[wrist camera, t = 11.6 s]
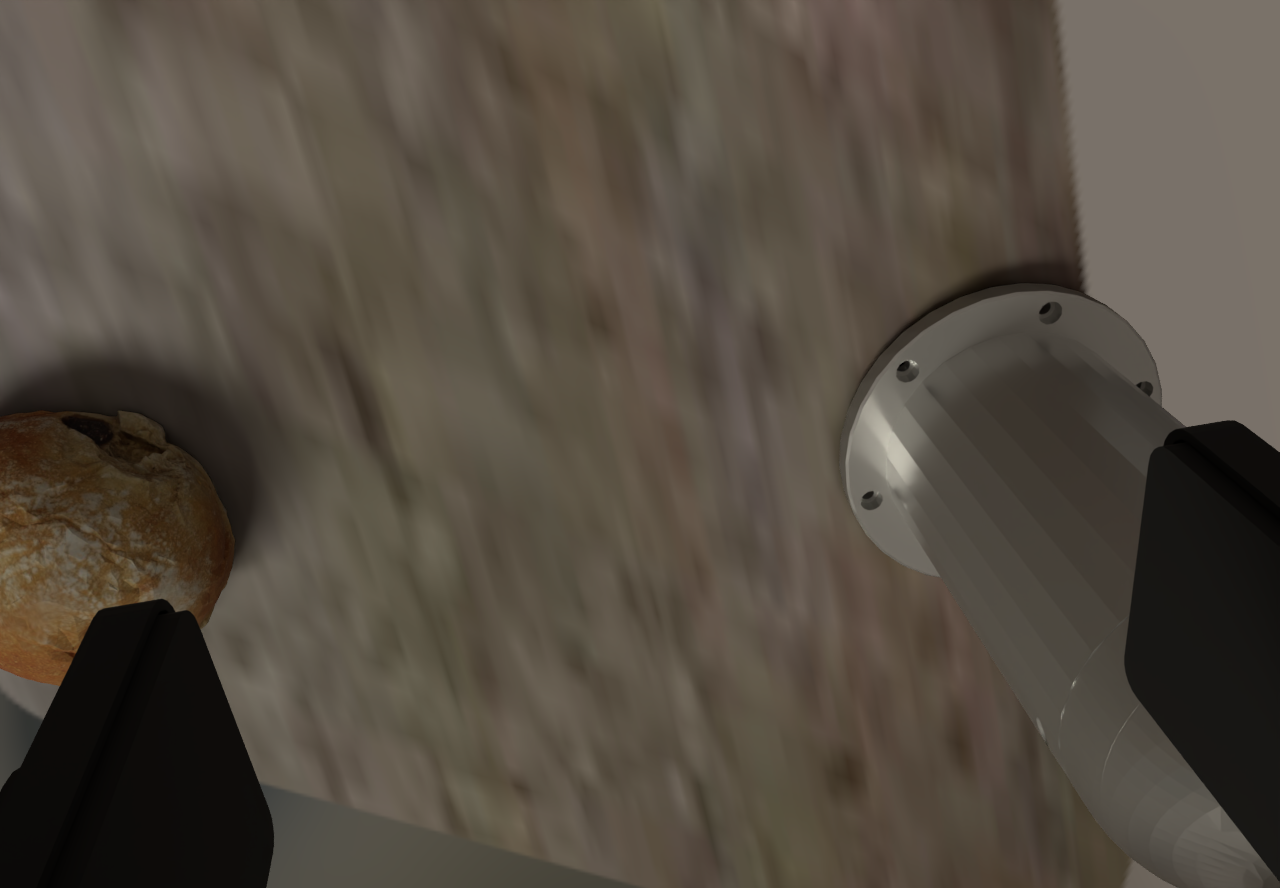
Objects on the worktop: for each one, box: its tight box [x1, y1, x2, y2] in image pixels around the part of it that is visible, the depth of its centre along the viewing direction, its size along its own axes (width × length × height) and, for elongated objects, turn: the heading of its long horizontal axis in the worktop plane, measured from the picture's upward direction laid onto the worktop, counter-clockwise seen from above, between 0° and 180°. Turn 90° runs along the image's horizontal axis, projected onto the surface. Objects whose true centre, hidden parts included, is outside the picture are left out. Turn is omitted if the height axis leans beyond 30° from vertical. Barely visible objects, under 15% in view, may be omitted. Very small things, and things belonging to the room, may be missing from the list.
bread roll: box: [0, 410, 235, 686], centre depth 39 cm, size 10×10×8 cm
